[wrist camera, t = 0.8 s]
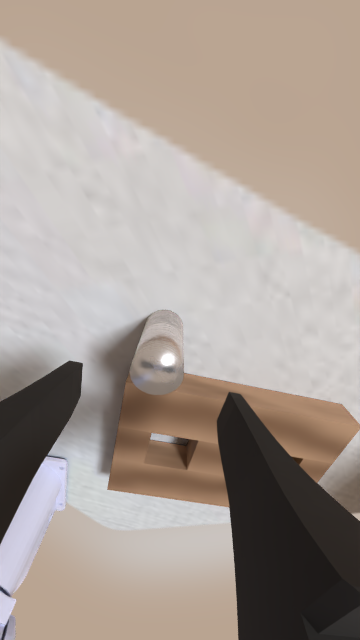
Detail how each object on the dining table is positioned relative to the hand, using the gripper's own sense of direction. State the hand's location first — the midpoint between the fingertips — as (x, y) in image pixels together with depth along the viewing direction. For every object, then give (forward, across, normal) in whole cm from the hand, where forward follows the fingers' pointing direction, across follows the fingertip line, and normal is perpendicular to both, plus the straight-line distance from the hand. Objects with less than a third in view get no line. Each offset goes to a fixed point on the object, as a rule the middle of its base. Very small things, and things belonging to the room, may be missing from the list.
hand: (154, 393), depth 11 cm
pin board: (+8, -8, +11) cm, 16 cm away
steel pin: (+8, 0, 0) cm, 8 cm away
